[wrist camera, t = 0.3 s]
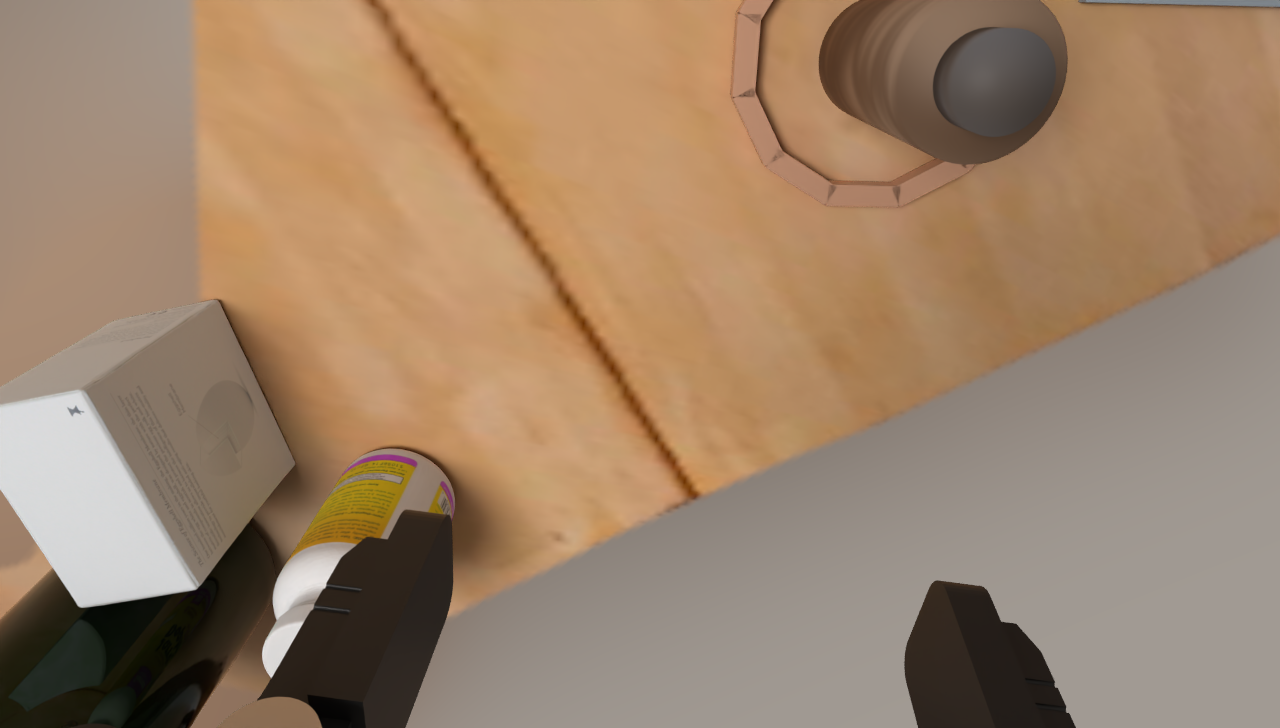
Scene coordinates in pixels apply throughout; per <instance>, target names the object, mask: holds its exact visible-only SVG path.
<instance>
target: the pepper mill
mask: <svg viewBox="0 0 1280 728" xmlns="http://www.w3.org/2000/svg"><path fill="white" fill-rule="evenodd" d="M1067 59H1068V58H1067V46H1066V42H1065V37H1064V34H1063V32H1062V29H1061V26H1060V24H1059V23H1058V21H1057V19H1056V17H1055V16H1054V15H1053V13H1052V12H1051V11H1050V9H1049V8H1048V7H1047V6H1046V5H1044V4H1043V3H1042V2H1041V1H1040V0H860V1H858V2H855V3H854V4H852V5H851V6H849V7H848V8H846V9H845V10H844V11H843V12H842V13H841V14H840V15H839V16H838V17H837V18H836V19H835V20H834V22H833V23H832V24H831V26H830V27H829V29H828V31H827V33H826V35H825V37H824V39H823V42H822V45H821V49H820V55H819V74H820V79H821V83H822V86H823V88H824V90H825V92H826V94H827V96H828V97H829V98H830V100H831V101H832V102H833V103H834V104H835V105H836V106H837V107H838V108H839V109H841V110H842V111H844V112H846V113H847V114H849V115H851V116H853V117H855V118H857V119H859V120H861V121H863V122H865V123H867V124H869V125H871V126H873V127H875V128H877V129H879V130H881V131H883V132H885V133H887V134H889V135H891V136H893V137H895V138H897V139H899V140H901V141H903V142H905V143H907V144H909V145H911V146H913V147H915V148H917V149H919V150H921V151H923V152H925V153H927V154H929V155H931V156H933V157H935V158H938V159H940V160H943V161H946V162H950V163H954V164H964V165H969V164H980V163H986V162H989V161H993V160H996V159H999V158H1001V157H1003V156H1006V155H1008V154H1009V153H1011V152H1013V151H1015V150H1016V149H1018V148H1019V147H1021V146H1022V145H1023V144H1025V143H1026V142H1027V141H1029V140H1030V139H1031V138H1032V137H1033V136H1034V135H1035V134H1036V133H1037V132H1038V131H1039V130H1040V129H1041V127H1042V126H1043V125H1044V124H1045V122H1046V121H1047V120H1048V118H1049V117H1050V115H1051V114H1052V112H1053V110H1054V108H1055V107H1056V105H1057V103H1058V100H1059V98H1060V96H1061V93H1062V90H1063V87H1064V83H1065V79H1066V73H1067Z"/></svg>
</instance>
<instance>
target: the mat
mask: <svg viewBox="0 0 1280 728" xmlns="http://www.w3.org/2000/svg"><path fill="white" fill-rule="evenodd" d="M1079 2H1092V3H1133V4H1174V5H1214V6H1255V7H1280V0H1079Z"/></svg>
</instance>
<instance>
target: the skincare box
mask: <svg viewBox="0 0 1280 728" xmlns="http://www.w3.org/2000/svg"><path fill="white" fill-rule="evenodd" d="M294 466H295V461H294V459H293V457H292V455H291V453H290V450H289V448H288V446H287V444H286V442H285V440H284V438H283V435H282V433H281V431H280V429H279V427H278V425H277V423H276V421H275V418H274V416H273V414H272V412H271V410H270V408H269V406H268V404H267V402H266V399H265V397H264V395H263V393H262V391H261V389H260V387H259V384H258V382H257V380H256V378H255V376H254V374H253V372H252V370H251V368H250V365H249V363H248V361H247V359H246V357H245V355H244V353H243V351H242V349H241V347H240V345H239V343H238V341H237V339H236V336H235V334H234V332H233V330H232V328H231V326H230V324H229V321H228V319H227V317H226V315H225V313H224V311H223V309H222V307H221V304H220V303H219V301H218V300H209V301H205V302H200V303H195V304H190V305H185V306H180V307H175V308H171V309H166V310H161V311H156V312H151V313H147V314H141V315H137V316H132V317H128V318H123V319H120V320H115V321H112V322H110V323H109V324H107V325H105V326H104V327H102V328H100V329H99V330H97V331H95V332H94V333H92V334H90V335H88V336H87V337H85V338H83V339H82V340H80V341H78V342H76V343H75V344H73V345H71V346H70V347H68V348H66V349H64V350H63V351H61V352H59V353H58V354H56V355H54V356H52V357H51V358H49V359H47V360H45V361H44V362H42V363H40V364H39V365H37V366H35V367H34V368H32V369H30V370H28V371H27V372H25V373H23V374H22V375H20V376H18V377H16V378H15V379H13V380H12V381H10V382H8V383H6V384H4V385H3V386H1V387H0V490H1V491H2V492H3V494H4V496H5V497H6V498H7V500H8V501H9V503H10V504H11V506H12V507H13V509H14V510H15V511H16V513H17V515H18V516H19V517H20V519H21V521H22V522H23V524H24V525H25V527H26V528H27V530H28V531H29V533H30V534H31V536H32V538H33V539H34V540H35V542H36V543H37V545H38V546H39V548H40V549H41V551H42V552H43V554H44V555H45V557H46V558H47V560H48V561H49V563H50V564H51V566H52V567H53V569H54V570H55V572H56V573H57V575H58V576H59V578H60V579H61V581H62V582H63V584H64V585H65V587H66V588H67V590H68V591H69V593H70V594H71V596H72V597H73V599H74V600H75V602H76V604H77V605H78V606H79V607H81V608H85V607H93V606H100V605H107V604H113V603H119V602H125V601H131V600H137V599H144V598H150V597H156V596H162V595H168V594H174V593H180V592H186V591H192V590H196V589H198V587H199V586H200V585H201V584H202V583H203V582H204V580H205V579H206V577H207V576H208V575H209V574H210V572H211V571H212V569H213V568H214V567H215V565H216V564H217V563H218V561H219V560H220V559H221V557H222V556H223V555H224V553H225V552H226V551H227V549H228V548H229V547H230V546H231V544H232V543H233V542H234V540H235V539H236V538H237V537H238V535H239V534H240V533H241V532H242V530H243V529H244V528H245V526H246V525H247V524H248V523H249V521H250V520H251V519H252V517H253V516H254V515H255V513H256V512H257V511H258V510H259V508H260V507H261V506H262V505H263V504H264V502H265V501H266V500H267V498H268V497H269V496H270V494H271V493H272V492H273V491H274V489H275V488H276V487H277V486H278V485H279V483H280V482H281V481H282V479H283V478H284V477H285V476H286V475H287V474H288V473H289V472H290V470H291V469H292V468H293V467H294Z"/></svg>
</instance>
